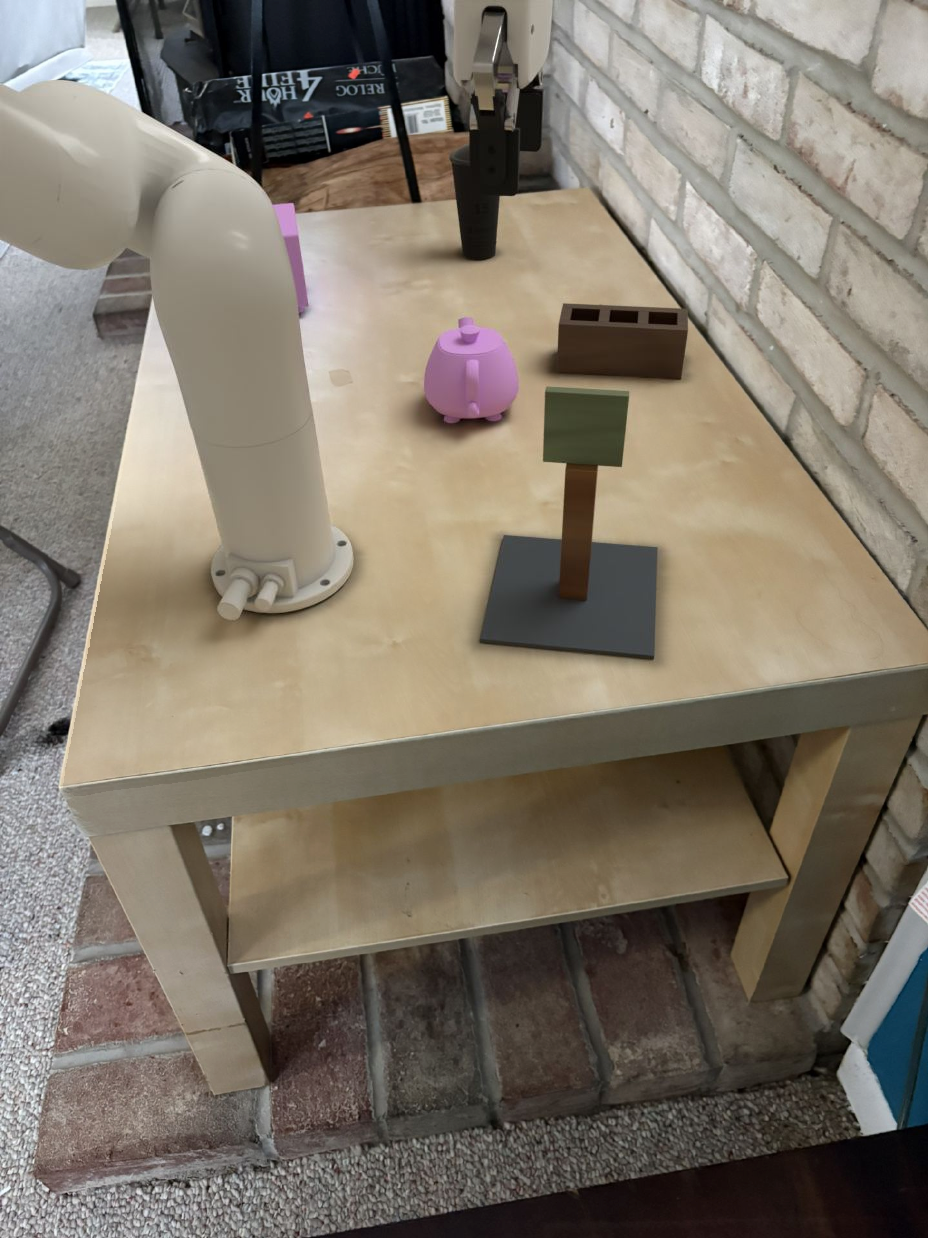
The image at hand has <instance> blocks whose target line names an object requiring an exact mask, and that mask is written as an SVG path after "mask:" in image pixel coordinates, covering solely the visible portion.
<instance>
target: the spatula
mask: <svg viewBox="0 0 928 1238" xmlns="http://www.w3.org/2000/svg"><path fill="white" fill-rule="evenodd" d="M629 403H630V391H629V390H617V389H616V390H615V389H602V388H584V387H583V388H582V387H565V386H563V387H562V386H550V385H549V386H548V385H547V386H545V392H544V409H543V410H544V412H543V413H544V414H543V442H542V444H543V445H542V462H543V463H552V464H553V463H556V464H565V468H564V485H563V486H564V487H563V488H564V489H563V505H562V506H563V507H562V524H561V525H562V526H561V540H562V541H561V560H560V579H559V598H561V599H572V600H583V601H587V594H588V585H589V574H590V561H591V549H592V542H593V536H594V522H595V512H596V499H597V488H598V475H599V467H614V468H622V467H623V462H624V461H623V460H624V452H625V442H626V431H627V423H628V422H627V421H628V413H629Z"/></svg>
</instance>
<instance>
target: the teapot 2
mask: <svg viewBox="0 0 928 1238" xmlns="http://www.w3.org/2000/svg"><path fill="white" fill-rule="evenodd" d="M457 323H458V324H457V325H458V327H456V328H452V329H449V330H446V331H444V332H442V333H441V334H440V335H439V337H438V338H437V340H436V342H435V344H434V345H433V348H432V350H431V352H430V354H429V357H428V359H427V363H426V365H425V371H424V378H423V392H424V395H425V397H426V400H427V402H428V403H429V405H430V406H432V407H433V409H434V410H435V411H436V412H438V413H439V414H441V415H443V416H444V417H443V421H444V423H448V424H456V423H458V422H460V421H461V420H462V419H479V418H484V419H485V420H487V421H489V422H497V421H500V420H501V419H502V417H503V416H502V414H501V413H504V412H505V411H506V410H508V409H509V407H511V406H512V405H513V402H514V401H515V400H516V399H517V396H518V393H519V389H520V388H519V387H520V386H519V374H518V370H517V365H516V363H515V360H514V357H513V354H512V353H511V351H510V349H509V347H508V346H507V343H506V341H505V340H504V338H503V337H502V336H501V334H500V332H498V331H497V330H496V329H493V328H489V327H484V326H483V327H482V326H478V325H475V322H474V318H473V317H469V316H466V317H461V318H459V319H458V320H457Z"/></svg>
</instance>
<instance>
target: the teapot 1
mask: <svg viewBox="0 0 928 1238" xmlns="http://www.w3.org/2000/svg"><path fill="white" fill-rule="evenodd" d="M272 205H273V207H274V209H275V212H276V214H277V217H278V220H279V224H280V228H281V232H282V235H283V237H284V241H285V245H286V249H287V253H288V256H289V260H290V264H291V269H292V273H293V278H294V283H295V289H296V295H297V302H298V311H299V314H301V313H302V312H303V311H304V307H309V299H308V292H307V284H306V277H305V276H306V275H305V270H304V269H305V268H304V263H303V262H304V261H303V256H302V250H301V243H300V236H299V229H298V223H297V217H296V209H295V204H294V202H288V203H279V204H278V203H277V204H272Z"/></svg>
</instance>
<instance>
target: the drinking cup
mask: <svg viewBox="0 0 928 1238" xmlns="http://www.w3.org/2000/svg"><path fill="white" fill-rule="evenodd" d="M448 160H449V161H450V162H451V169H452V179H453V185H454V194H455V202H456V211H457V218H458V227H459V235H460V243H461V244H460V245H461V251H462V256H463V257H464V258H466V259H469V260H474V261H483V260H488V259H491V258H493V257H494V256H496V250H497V238H498V224H499V210H500V200H501V199H500V197H501V196H497V195H479V194H473V193H472V192H471V190H470V155H469V143H467V144H463V145H461V146H459V147H458V148H456V149H454V150H451V152H449V154H448Z"/></svg>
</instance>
